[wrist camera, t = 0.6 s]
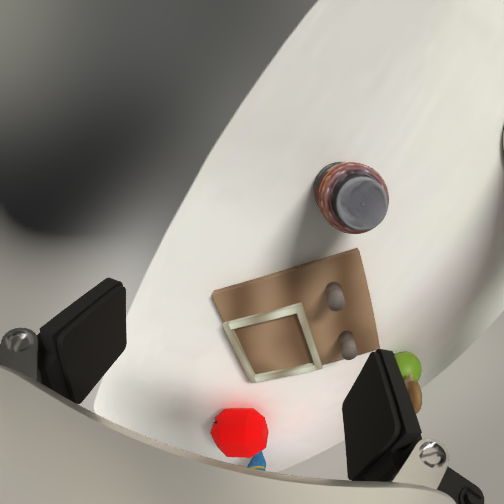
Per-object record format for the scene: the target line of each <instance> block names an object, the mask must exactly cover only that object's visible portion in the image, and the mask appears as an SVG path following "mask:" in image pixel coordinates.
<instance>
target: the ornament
mask: <svg viewBox="0 0 504 504" xmlns="http://www.w3.org/2000/svg"><path fill="white" fill-rule="evenodd" d="M247 468H252V469H257V470H262V471H265V468H266V462H265V459H264V456H263V454H262V451H260V452H259V453H257V454H256V455H254V457H253V458H252V460H251V461H250V463H249V464H248V466H247Z"/></svg>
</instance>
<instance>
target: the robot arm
mask: <svg viewBox="0 0 504 504" xmlns="http://www.w3.org/2000/svg"><path fill="white" fill-rule="evenodd" d="M503 148H504V132H503ZM126 344H127V339H126V289H125V287H123V284H122V283H121V282H120V281H117V280H114V279H111V278H106V279H105V280H103V281H102V282H101V283H99V284H98V285H97V286H95V287H94V288H93V289H91V290H90V291H88V292H87V293H86V294H84V295H83V296H82V297H80V298H79V299H78V300H76V301H75V302H74V303H72V304H71V305H70V306H68V307H67V308H66V309H64V310H63V311H62V312H60V313H59V314H58V315H56V316H55V317H54V318H53V319H51V320H50V321H49V322H47V323H46V324H45V325H44V326H42V327H41V328H40V333H39V334H38V335H36V334H35V332H33V331H32V330H30V329H27V328H15V329H12V330H10V331H8V332H7V333H6V334H5V335H4V336H3V338H2V340H1V344H0V504H484V496H483V493H482V491H481V490H480V489H479V488H478V487H477V486H476V485H474V484H473V483H471V482H470V481H468V480H467V479H465V478H464V477H462V476H461V475H459V474H458V473H457V472H455V471H454V470H452V469H451V468H449V467H448V464H449V461H450V456H449V452H448V450H447V448H446V447H445V446H444V445H443V444H442V443H441V442H440V441H438V440H436V439H432V438H425V439H422V437H421V433H422V432H421V429H420V426H419V422H418V419H417V416H416V413H415V410H414V407H413V404H412V402H411V399H410V396H409V393H408V390H407V388H406V385H405V382H404V379H403V377H402V374H401V371H400V369H399V366H398V364H397V361H396V359H395V356H394V353H393V352H392V351H388V350H383V349H377V350H376V351H375V352H372V353H371V354H370V355H369V357H368V359H367V361H366V363H365V365H364V367H363V368H362V370H361V372H360V374H359V376H358V378H357V379H356V381H355V383H354V385H353V386H352V388H351V390H350V391H349V393H348V395H347V397H346V398H345V400H344V402H343V406H342V412H343V422H344V433H345V444H346V456H347V470H348V471H347V472H348V478H349V480H352V481H345V480H332V479H320V478H310V477H300V476H293V475H286V474H279V473H273V472H268V471H262V470H257V469H252V468H247V467H243V466H238V465H234V464H230V463H226V462H222V461H218V460H214V459H211V458H207V457H204V456H200V455H197V454H194V453H190V452H187V451H184V450H181V449H178V448H175V447H172V446H169V445H167V444H164V443H161V442H159V441H156V440H153V439H151V438H148V437H146V436H143V435H141V434H138V433H136V432H133V431H131V430H129V429H126V428H124V427H122V426H120V425H118V424H115V423H113V422H111V421H109V420H107V419H105V418H103V417H101V416H99V415H97V414H95V413H93V412H91V411H89V410H87V409H85V408H83V407H81V406H79V405H78V404H80V403H81V402H82V401H83V400H84V399H85V398H86V396H87V395H88V394H89V393H90V391H91V390H92V389H93V388H94V386H95V385H96V384H97V383H98V381H99V380H100V379H101V378H102V377H103V375H104V374H105V373H106V372H107V370H108V369H109V368H110V367H111V366H112V364H113V363H114V362H115V361H116V360H117V358H118V357H119V356H120V355H121V354H122V352H123V351H124V350H125V347H126Z"/></svg>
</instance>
